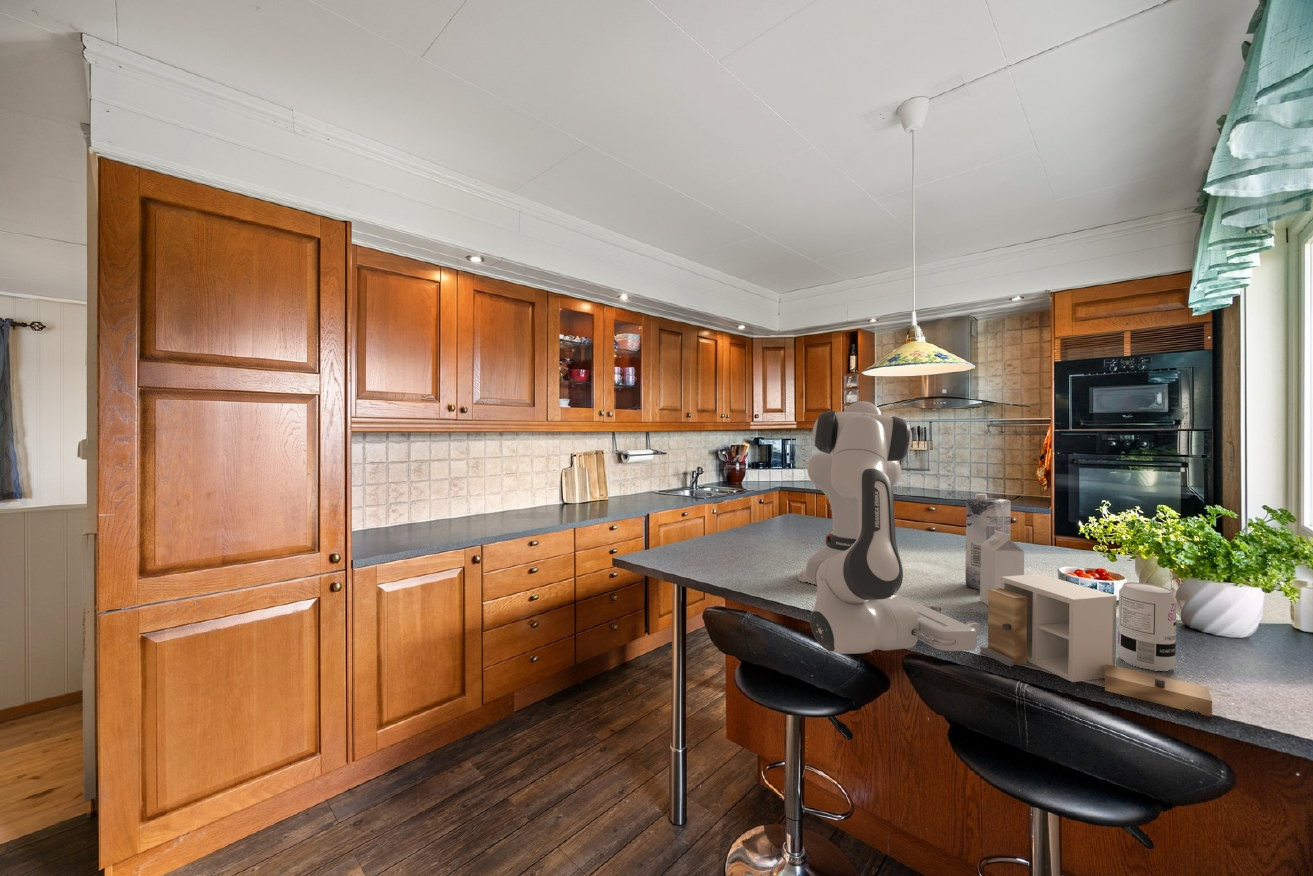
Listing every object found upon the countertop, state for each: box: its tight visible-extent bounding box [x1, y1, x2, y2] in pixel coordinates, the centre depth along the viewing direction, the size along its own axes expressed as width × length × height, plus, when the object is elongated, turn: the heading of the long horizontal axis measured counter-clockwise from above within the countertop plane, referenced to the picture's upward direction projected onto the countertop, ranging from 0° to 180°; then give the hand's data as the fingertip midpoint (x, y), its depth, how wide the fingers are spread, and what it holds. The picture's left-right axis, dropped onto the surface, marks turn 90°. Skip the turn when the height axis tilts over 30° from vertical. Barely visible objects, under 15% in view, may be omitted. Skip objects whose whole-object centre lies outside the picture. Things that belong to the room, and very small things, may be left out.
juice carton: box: [964, 493, 1012, 591], centre depth 153 cm, size 9×10×27 cm
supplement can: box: [1117, 581, 1178, 671], centre depth 104 cm, size 8×8×15 cm
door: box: [1104, 664, 1213, 718], centre depth 91 cm, size 13×6×4 cm, turn 49°
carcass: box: [979, 573, 1118, 683], centre depth 104 cm, size 16×15×15 cm
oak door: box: [987, 588, 1027, 666], centre depth 106 cm, size 4×6×13 cm, turn 14°
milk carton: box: [979, 530, 1025, 606], centre depth 138 cm, size 7×7×19 cm
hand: (957, 618), depth 103 cm, fingers open, 8 cm apart
